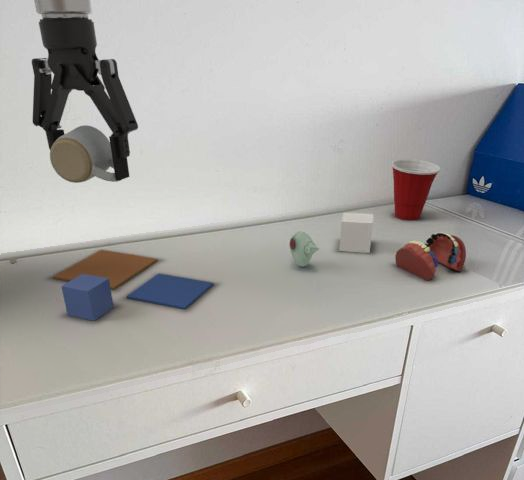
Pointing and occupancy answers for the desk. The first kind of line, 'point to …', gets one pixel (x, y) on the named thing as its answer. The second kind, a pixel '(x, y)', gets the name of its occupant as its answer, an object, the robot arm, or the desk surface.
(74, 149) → the ceramic mug
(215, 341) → the desk surface
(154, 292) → the blue mat
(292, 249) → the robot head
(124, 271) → the cork mat
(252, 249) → the desk surface
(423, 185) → the plastic cup
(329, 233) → the desk surface
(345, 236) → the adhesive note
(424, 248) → the teeth model
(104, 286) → the blue block
